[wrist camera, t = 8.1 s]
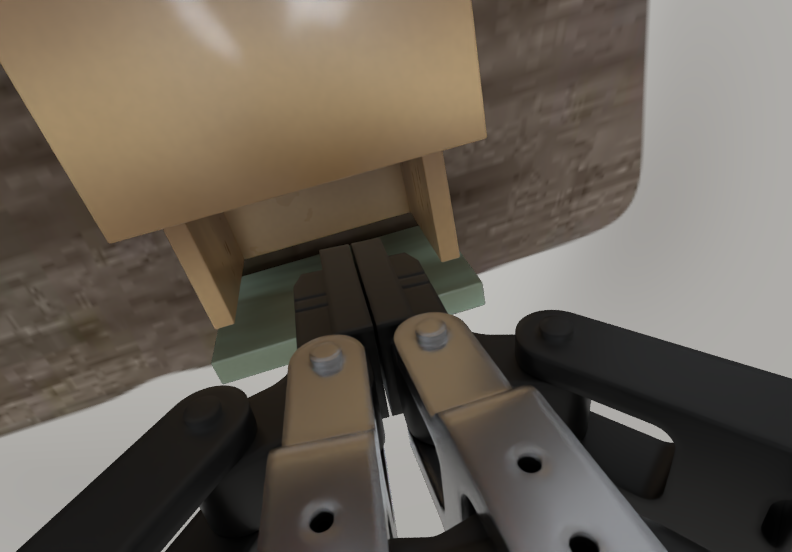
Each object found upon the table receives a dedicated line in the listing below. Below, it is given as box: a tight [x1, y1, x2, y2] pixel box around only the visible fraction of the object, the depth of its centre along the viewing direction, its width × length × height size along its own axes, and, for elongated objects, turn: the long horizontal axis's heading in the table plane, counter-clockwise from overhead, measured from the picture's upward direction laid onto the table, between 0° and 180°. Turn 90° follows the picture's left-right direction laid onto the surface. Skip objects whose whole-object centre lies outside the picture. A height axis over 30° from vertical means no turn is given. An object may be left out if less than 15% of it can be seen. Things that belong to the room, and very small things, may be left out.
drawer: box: [163, 151, 485, 384], centre depth 21 cm, size 16×11×7 cm
